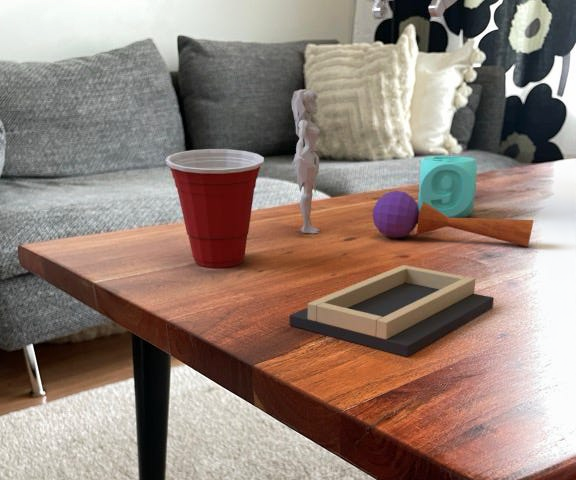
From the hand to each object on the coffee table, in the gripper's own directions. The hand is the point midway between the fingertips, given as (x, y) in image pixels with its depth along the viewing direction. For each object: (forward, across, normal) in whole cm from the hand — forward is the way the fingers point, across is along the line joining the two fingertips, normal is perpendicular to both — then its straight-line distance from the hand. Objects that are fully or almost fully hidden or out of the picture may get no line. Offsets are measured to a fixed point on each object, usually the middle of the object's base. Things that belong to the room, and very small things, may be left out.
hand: (404, 14), depth 104 cm
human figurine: (+36, 0, +3) cm, 36 cm away
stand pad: (+52, +28, -14) cm, 61 cm away
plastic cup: (+49, +2, -10) cm, 50 cm away
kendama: (+31, +18, +8) cm, 37 cm away
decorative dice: (+20, +9, +19) cm, 29 cm away
